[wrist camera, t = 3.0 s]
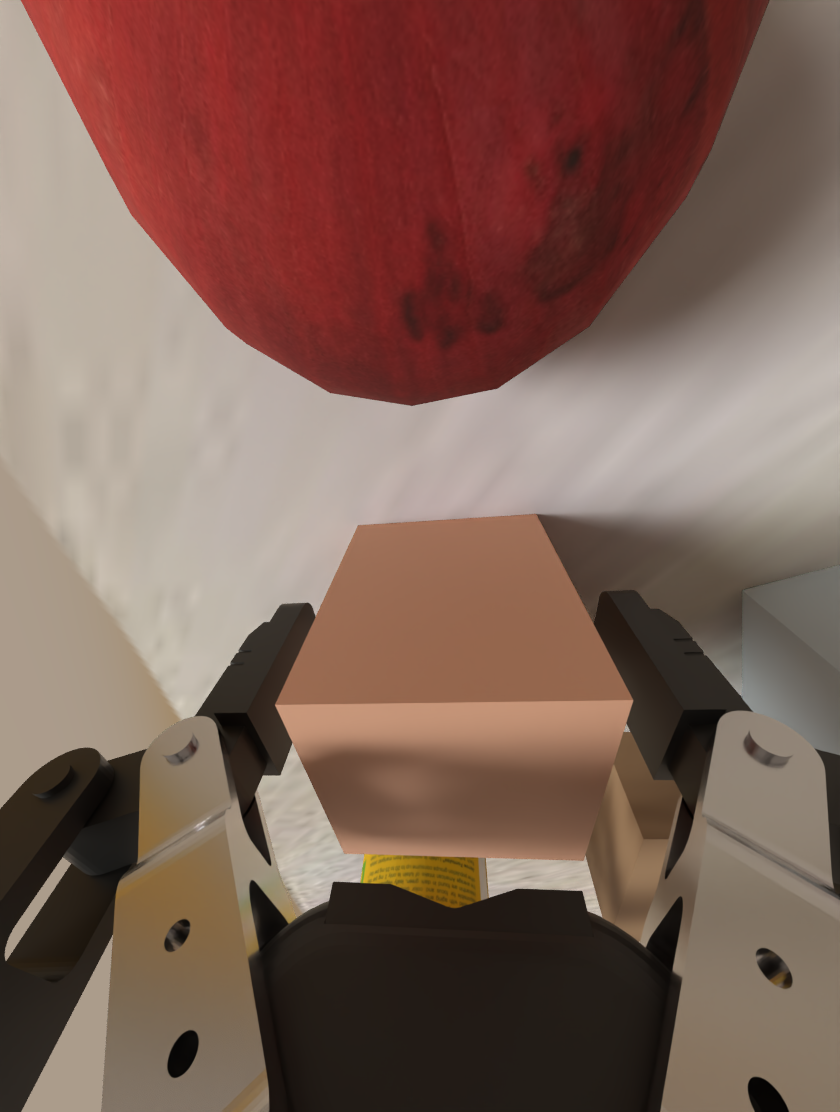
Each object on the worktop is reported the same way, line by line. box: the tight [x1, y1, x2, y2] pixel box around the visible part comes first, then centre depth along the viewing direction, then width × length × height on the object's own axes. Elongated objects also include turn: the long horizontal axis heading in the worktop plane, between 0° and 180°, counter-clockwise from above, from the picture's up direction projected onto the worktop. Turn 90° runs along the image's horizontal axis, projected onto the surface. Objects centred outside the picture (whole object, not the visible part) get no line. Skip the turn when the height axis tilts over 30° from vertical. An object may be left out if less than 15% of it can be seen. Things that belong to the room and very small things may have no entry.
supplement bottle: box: [360, 854, 489, 908], centre depth 14 cm, size 5×5×10 cm
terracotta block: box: [275, 514, 633, 861], centre depth 9 cm, size 5×5×6 cm
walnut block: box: [585, 732, 681, 942], centre depth 15 cm, size 10×10×4 cm
